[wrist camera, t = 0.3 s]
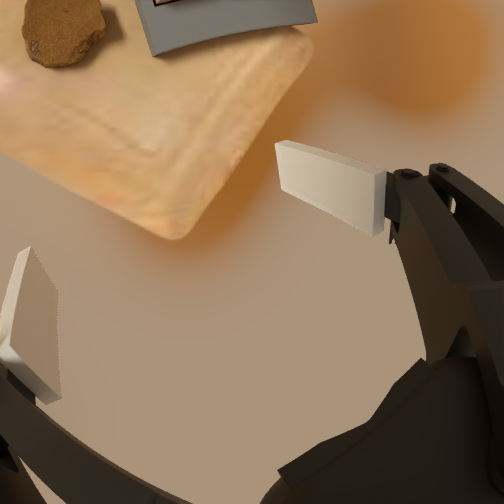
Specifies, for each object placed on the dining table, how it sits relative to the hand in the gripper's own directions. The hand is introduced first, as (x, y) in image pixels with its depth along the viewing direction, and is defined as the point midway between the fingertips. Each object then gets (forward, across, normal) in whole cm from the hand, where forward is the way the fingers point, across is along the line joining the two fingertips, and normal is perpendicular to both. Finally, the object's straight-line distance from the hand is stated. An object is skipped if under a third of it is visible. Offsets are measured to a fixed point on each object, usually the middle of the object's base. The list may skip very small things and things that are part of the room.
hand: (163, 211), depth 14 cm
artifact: (+28, -3, +18) cm, 33 cm away
